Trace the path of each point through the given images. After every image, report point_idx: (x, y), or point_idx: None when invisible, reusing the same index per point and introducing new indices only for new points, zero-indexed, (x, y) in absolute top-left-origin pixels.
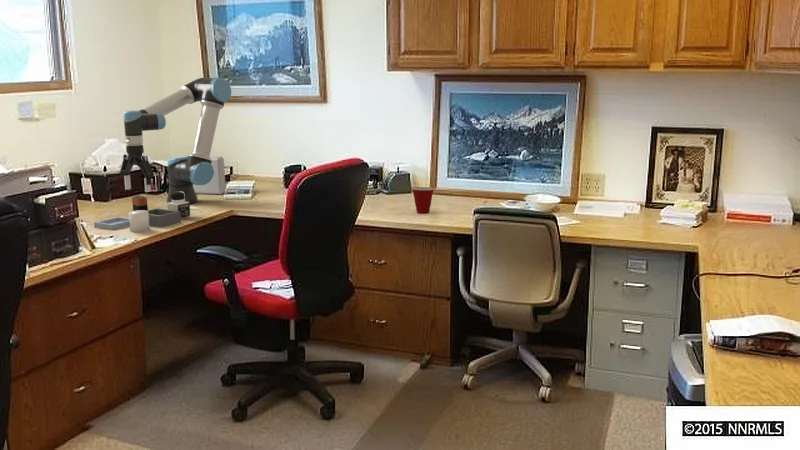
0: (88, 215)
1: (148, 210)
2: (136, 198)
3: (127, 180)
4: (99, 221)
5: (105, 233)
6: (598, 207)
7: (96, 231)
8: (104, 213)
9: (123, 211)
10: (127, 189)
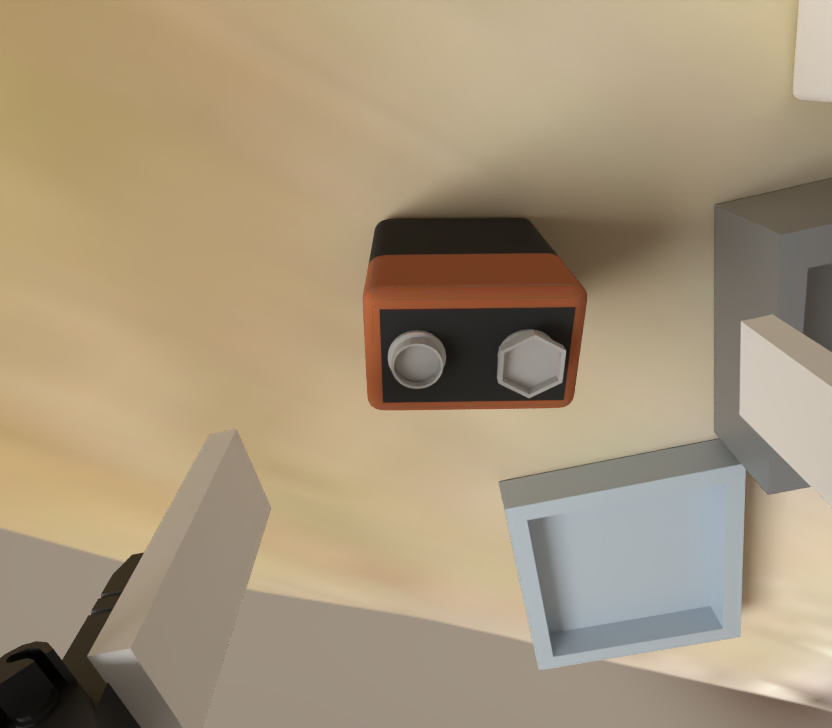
0: (71, 535)
1: None
2: (507, 407)
3: (212, 604)
4: (549, 644)
5: (761, 656)
6: None
7: (660, 666)
8: (58, 428)
9: (60, 269)
10: (261, 489)
